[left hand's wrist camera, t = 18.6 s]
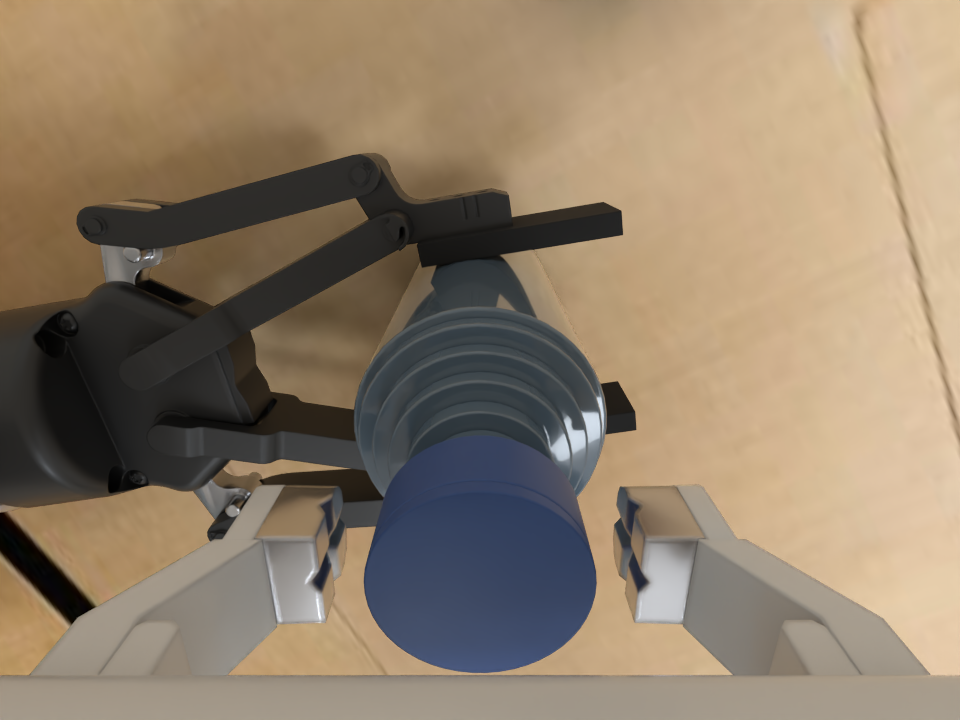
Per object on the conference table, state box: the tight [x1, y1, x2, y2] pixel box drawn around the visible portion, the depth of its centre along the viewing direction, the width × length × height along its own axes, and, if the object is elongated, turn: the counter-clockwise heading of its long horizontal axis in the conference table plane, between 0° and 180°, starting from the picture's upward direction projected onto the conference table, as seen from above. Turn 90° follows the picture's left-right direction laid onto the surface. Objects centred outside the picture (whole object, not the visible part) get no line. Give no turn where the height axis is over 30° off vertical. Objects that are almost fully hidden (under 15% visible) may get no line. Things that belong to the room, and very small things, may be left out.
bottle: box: [354, 250, 607, 498], centre depth 18 cm, size 6×6×18 cm
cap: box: [364, 435, 597, 673], centre depth 10 cm, size 4×4×2 cm
